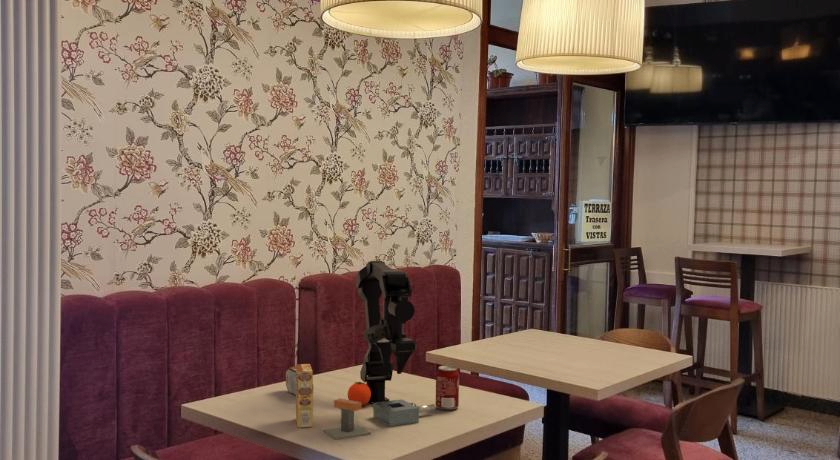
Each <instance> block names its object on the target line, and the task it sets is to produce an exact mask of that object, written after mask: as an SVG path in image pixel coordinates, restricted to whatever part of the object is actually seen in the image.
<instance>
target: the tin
mask: <svg viewBox="0 0 840 460" xmlns="http://www.w3.org/2000/svg"><path fill="white" fill-rule="evenodd" d="M284 375H285V386H286V389H287V391H288V392H289V393H290V394H291V395H293V396H295V397H296V365H295V366H291V367H288V368H287V369H285V373H284Z"/></svg>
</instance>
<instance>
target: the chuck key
mask: <svg viewBox="0 0 840 460" xmlns="http://www.w3.org/2000/svg"><path fill="white" fill-rule="evenodd" d="M333 403H334V404H333V407H334V408H338V409H340V413H341V414H340V427H341V431H343V432H348V433H349V432H351V431H353V430H354V425H355V412H358V411H360V410H362V406H361V402H357V401H352V400H349V399H346V398H337V399H334V400H333Z"/></svg>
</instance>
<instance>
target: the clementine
mask: <svg viewBox="0 0 840 460" xmlns="http://www.w3.org/2000/svg"><path fill="white" fill-rule="evenodd" d="M370 398H371V390H370V388H369V387H368V385H366V382H363V381H355V382H354V383H353V384H351V385H350V387H349V388H348V391H347V400H352V401H357V402H361V407H362V406H366V405H367V404H368V403H369V400H370Z"/></svg>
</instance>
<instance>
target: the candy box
mask: <svg viewBox="0 0 840 460" xmlns="http://www.w3.org/2000/svg"><path fill="white" fill-rule="evenodd" d="M295 366H296V396H295V419H296V424H297V428H312V427H313V426H314V425H313V423H314V419H313V417H314V416H313V415H314V409H313V408H314V405H313V404H314V403H313V402H314V396H313V395H314V373H313V367H312V366H311V364H310V363H303V364H302V363H301V364H300V363H299V364H298V363H297V364H295Z"/></svg>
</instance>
